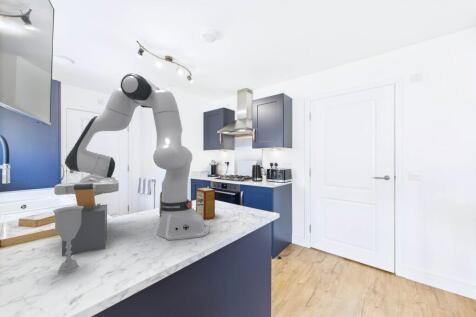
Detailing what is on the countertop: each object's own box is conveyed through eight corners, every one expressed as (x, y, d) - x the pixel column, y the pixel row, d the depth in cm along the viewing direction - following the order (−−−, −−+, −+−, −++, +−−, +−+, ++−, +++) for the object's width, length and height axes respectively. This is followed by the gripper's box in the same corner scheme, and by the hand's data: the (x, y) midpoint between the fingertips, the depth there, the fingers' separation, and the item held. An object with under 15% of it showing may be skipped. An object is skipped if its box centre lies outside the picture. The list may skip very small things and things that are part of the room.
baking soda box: (195, 216, 115) (196, 188, 114) (205, 214, 119) (206, 187, 119) (204, 220, 107) (204, 190, 107) (214, 217, 111) (215, 189, 111)
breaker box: (69, 244, 76) (69, 204, 76) (107, 238, 82) (107, 201, 82) (61, 256, 67) (62, 210, 67) (104, 248, 73) (104, 206, 73)
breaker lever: (78, 206, 74) (74, 183, 68) (95, 204, 77) (93, 182, 70) (77, 210, 73) (73, 187, 66) (95, 209, 76) (92, 186, 69)
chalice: (65, 263, 63) (66, 205, 63) (88, 262, 64) (89, 205, 63) (45, 277, 56) (45, 212, 56) (71, 276, 56) (71, 212, 56)
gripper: (59, 179, 80) (48, 183, 68) (119, 177, 90) (118, 180, 78) (59, 194, 80) (47, 201, 68) (119, 191, 90) (118, 196, 78)
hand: (86, 190), depth 73 cm, fingers closed
